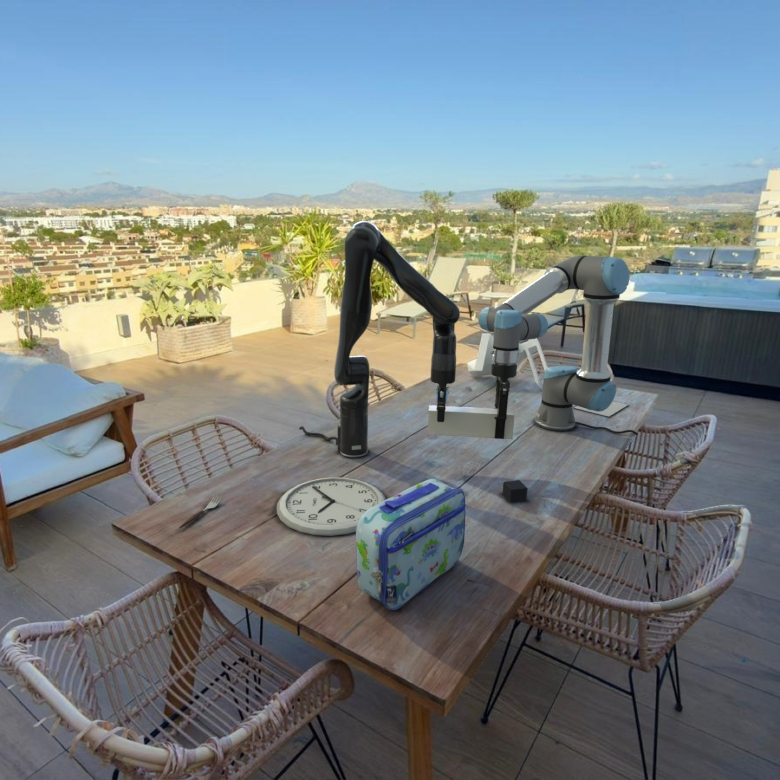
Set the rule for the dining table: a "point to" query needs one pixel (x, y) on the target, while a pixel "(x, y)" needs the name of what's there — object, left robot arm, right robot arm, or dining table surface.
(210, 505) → the fork
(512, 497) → the rubber block
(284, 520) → the wall clock
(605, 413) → the invitation card
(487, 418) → the bar
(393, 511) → the lunch box
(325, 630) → the dining table surface
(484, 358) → the white plastic object
